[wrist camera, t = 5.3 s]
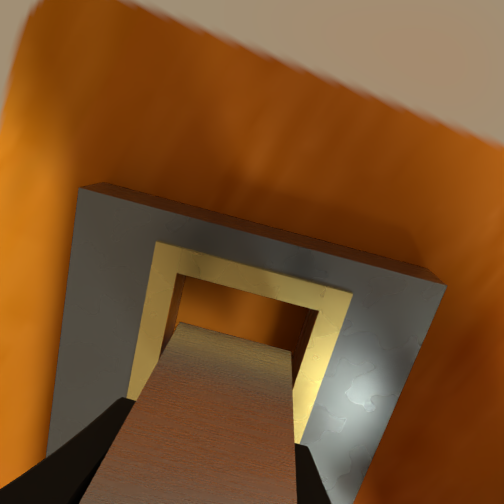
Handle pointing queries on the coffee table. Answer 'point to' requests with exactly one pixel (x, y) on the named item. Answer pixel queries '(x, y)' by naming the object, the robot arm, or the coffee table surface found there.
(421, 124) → the coffee table surface
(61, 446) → the robot arm
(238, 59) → the coffee table surface
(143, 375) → the hole plate
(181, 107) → the coffee table surface
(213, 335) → the steel peg
